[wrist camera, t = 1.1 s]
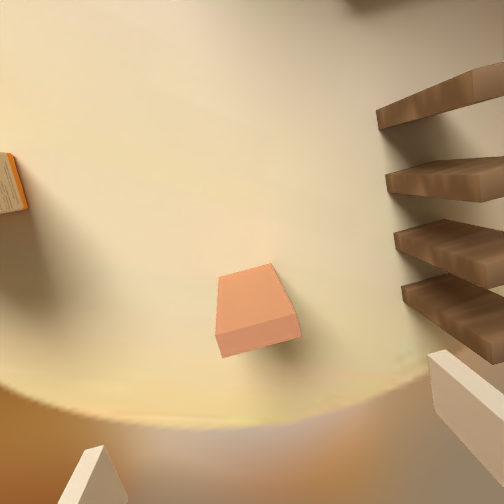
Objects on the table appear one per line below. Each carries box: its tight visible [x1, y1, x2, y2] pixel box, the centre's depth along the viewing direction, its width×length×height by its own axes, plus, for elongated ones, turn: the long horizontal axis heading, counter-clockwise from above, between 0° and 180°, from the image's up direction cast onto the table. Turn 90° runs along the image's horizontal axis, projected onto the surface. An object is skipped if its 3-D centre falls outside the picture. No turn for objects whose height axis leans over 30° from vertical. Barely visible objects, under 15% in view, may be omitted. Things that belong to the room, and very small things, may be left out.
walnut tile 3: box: [385, 156, 504, 203], centre depth 24 cm, size 2×5×11 cm, turn 104°
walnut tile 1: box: [401, 273, 504, 365], centre depth 26 cm, size 2×5×11 cm, turn 104°
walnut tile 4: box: [376, 62, 504, 130], centre depth 22 cm, size 2×5×11 cm, turn 104°
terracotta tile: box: [215, 263, 302, 358], centre depth 25 cm, size 2×5×11 cm, turn 104°
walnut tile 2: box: [394, 219, 504, 289], centre depth 25 cm, size 2×5×11 cm, turn 104°
